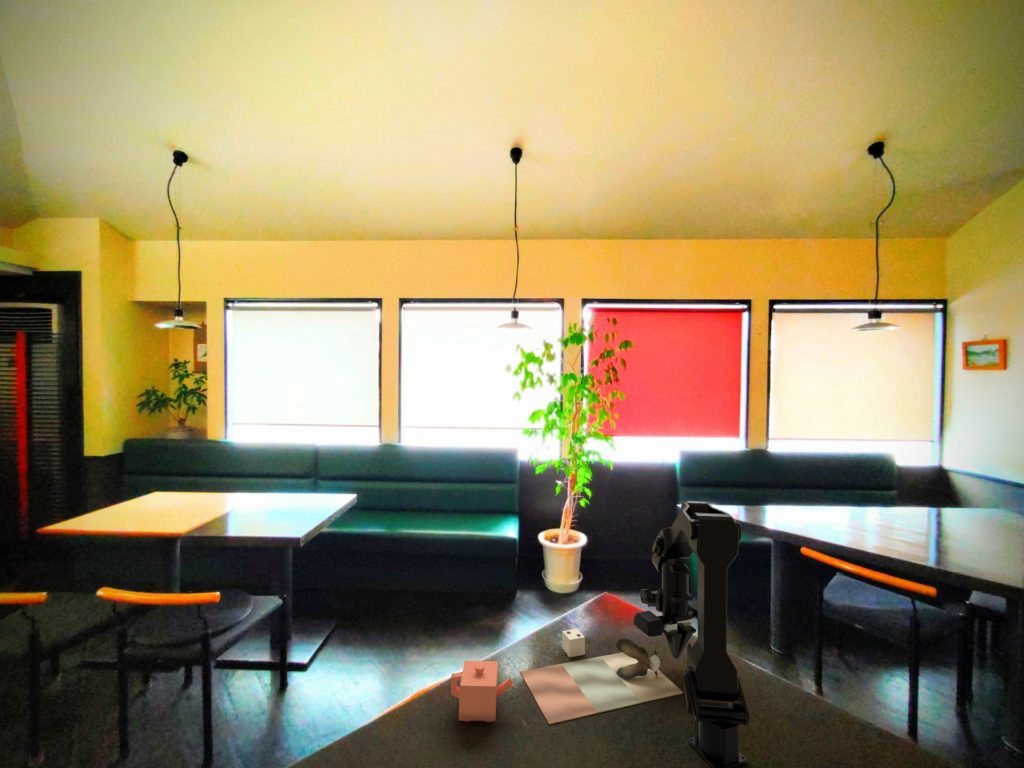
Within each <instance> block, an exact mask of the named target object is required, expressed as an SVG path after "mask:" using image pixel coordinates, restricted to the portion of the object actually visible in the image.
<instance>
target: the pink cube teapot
mask: <svg viewBox="0 0 1024 768" xmlns="http://www.w3.org/2000/svg"><path fill="white" fill-rule="evenodd" d="M498 667H499V666H498V661H497V660H464V662H463V667H462V668H463V669H462V671H461V672H460V671H459V672H454V673H451V676H450V695H451V696H452V697H455V698H456V699H458V700H459V702H458V703H459V704H458V721H462V722H465V723H466V722H467V723H468V722H471V721H472V722H484V723H485V722H486V723H491V722H496V716H497V715H496V714H497V698H498V697H500V696H501V695H503V694H505V693H506V692H507V691H509V690H510V689H512V688H513V687H514V682H513V680H512V678H511V677H508V678H507V679H506V680H504V681H503V682H502V683H500V684H499V685H498ZM458 681H460V683H459V686H458Z"/></svg>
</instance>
